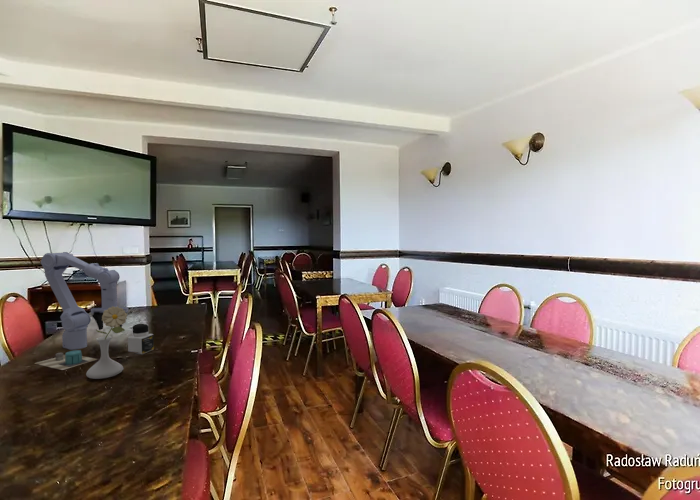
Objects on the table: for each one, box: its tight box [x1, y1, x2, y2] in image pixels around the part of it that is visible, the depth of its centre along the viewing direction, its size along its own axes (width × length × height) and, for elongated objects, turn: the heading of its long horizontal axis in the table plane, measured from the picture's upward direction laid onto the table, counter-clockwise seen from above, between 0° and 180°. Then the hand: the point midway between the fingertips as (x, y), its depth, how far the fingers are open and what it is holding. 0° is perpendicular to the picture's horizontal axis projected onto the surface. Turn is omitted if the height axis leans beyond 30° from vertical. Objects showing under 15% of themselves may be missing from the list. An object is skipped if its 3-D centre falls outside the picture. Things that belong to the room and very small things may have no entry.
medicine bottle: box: [127, 323, 155, 355], centre depth 164 cm, size 7×7×12 cm
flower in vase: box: [85, 306, 128, 380], centre depth 137 cm, size 13×11×25 cm
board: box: [34, 352, 99, 371], centre depth 149 cm, size 18×13×4 cm
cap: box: [64, 349, 83, 365], centre depth 147 cm, size 5×5×4 cm
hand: (110, 329), depth 166 cm, fingers open, 7 cm apart
